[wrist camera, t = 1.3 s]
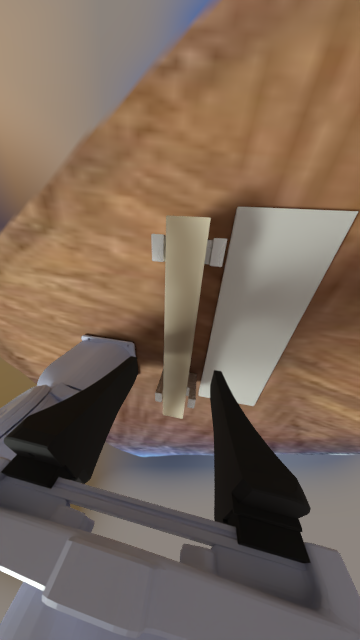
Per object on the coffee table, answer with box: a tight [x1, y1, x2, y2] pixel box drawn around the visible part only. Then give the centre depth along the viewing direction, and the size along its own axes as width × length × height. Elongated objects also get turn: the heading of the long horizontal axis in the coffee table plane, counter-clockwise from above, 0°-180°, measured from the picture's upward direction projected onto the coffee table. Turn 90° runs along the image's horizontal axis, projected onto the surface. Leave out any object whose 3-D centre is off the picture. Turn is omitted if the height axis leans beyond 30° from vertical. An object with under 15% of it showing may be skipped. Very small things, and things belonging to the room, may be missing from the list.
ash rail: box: [163, 216, 211, 419], centre depth 16 cm, size 3×24×3 cm, turn 176°
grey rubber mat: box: [199, 207, 359, 406], centre depth 18 cm, size 10×28×1 cm, turn 176°
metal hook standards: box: [152, 234, 227, 408], centre depth 18 cm, size 6×22×5 cm, turn 176°
